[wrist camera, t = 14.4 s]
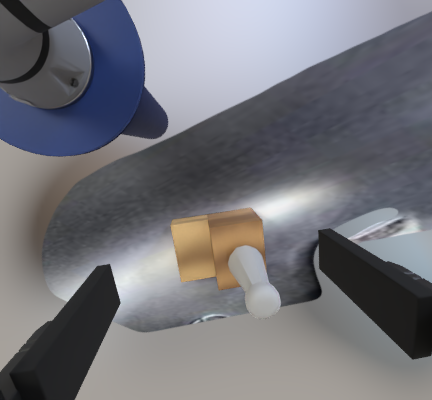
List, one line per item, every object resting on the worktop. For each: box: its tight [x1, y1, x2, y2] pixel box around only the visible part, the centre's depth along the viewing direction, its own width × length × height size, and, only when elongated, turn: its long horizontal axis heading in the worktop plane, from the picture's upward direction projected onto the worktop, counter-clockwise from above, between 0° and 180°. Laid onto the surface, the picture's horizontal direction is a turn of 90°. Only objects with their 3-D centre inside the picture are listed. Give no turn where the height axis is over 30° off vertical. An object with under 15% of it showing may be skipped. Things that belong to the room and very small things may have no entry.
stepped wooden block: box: [171, 208, 267, 290], centre depth 43 cm, size 12×16×8 cm
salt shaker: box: [228, 245, 281, 319], centre depth 33 cm, size 6×6×13 cm
